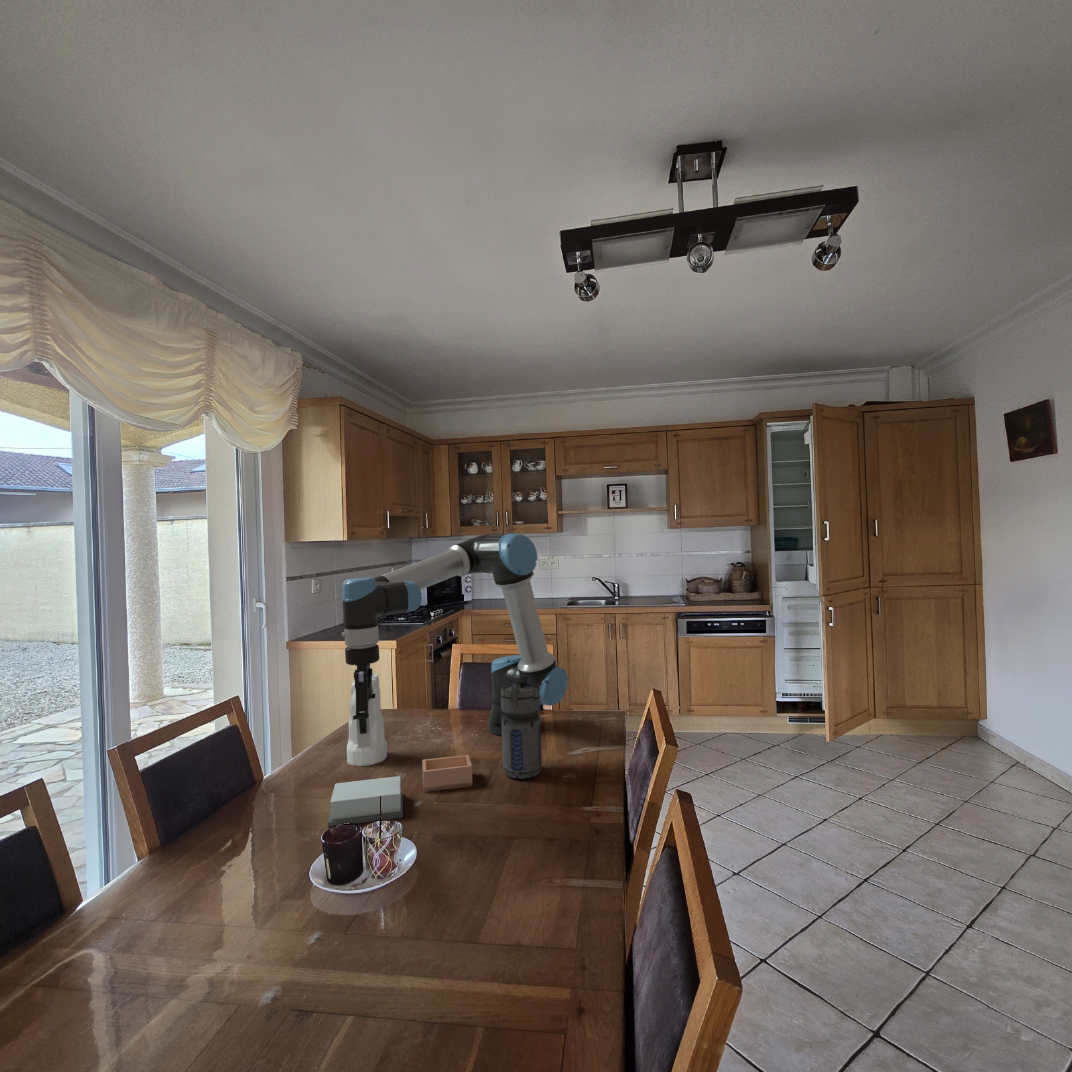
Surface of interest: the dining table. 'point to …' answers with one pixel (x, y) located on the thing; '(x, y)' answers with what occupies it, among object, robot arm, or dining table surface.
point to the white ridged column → (376, 733)
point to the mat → (368, 817)
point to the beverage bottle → (521, 730)
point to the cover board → (365, 797)
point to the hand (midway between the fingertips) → (366, 736)
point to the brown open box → (447, 773)
